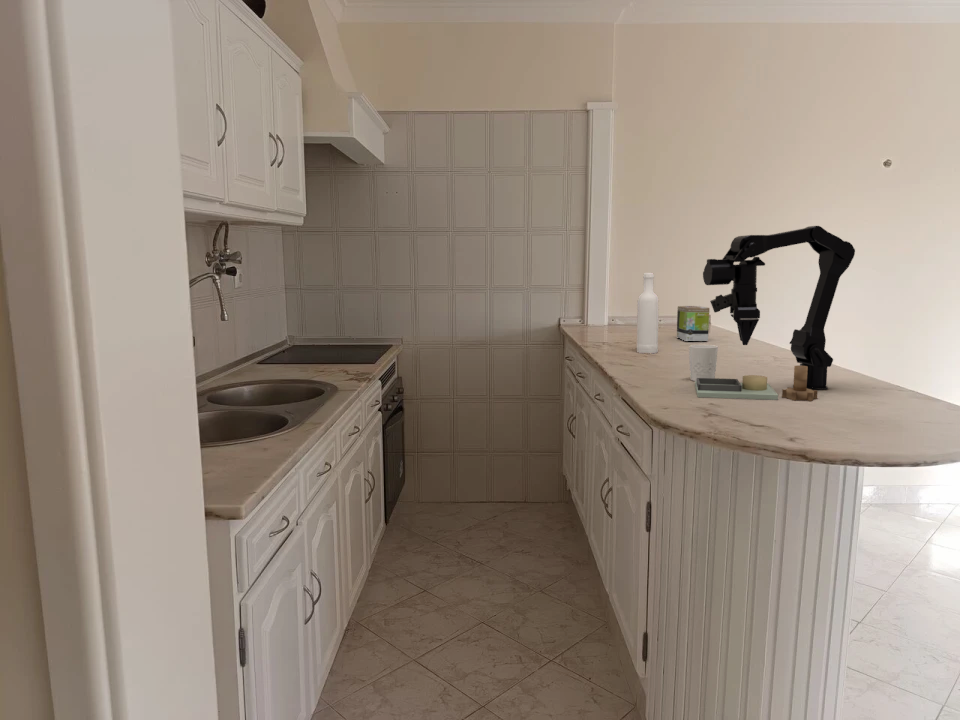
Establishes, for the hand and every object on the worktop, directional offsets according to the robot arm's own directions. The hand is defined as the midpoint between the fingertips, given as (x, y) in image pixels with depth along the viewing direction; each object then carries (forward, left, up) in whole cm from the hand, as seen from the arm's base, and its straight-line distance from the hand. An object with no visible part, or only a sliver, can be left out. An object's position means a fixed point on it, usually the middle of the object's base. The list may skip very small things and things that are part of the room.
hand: (743, 342), depth 182 cm
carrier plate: (+2, +4, -13) cm, 14 cm away
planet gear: (-13, +9, -13) cm, 20 cm away
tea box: (+8, -117, -13) cm, 118 cm away
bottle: (+26, -74, -13) cm, 79 cm away
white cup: (+9, -14, -13) cm, 21 cm away
